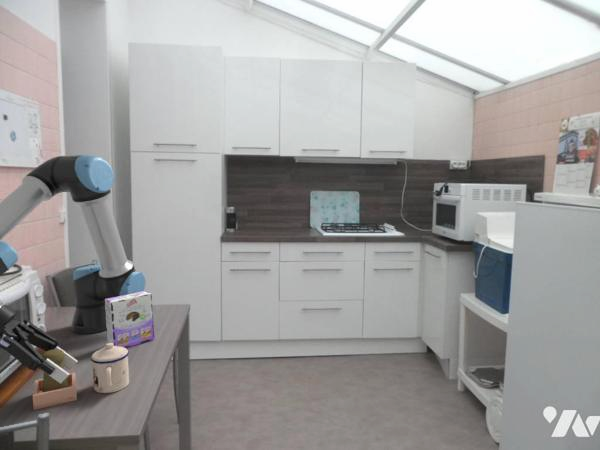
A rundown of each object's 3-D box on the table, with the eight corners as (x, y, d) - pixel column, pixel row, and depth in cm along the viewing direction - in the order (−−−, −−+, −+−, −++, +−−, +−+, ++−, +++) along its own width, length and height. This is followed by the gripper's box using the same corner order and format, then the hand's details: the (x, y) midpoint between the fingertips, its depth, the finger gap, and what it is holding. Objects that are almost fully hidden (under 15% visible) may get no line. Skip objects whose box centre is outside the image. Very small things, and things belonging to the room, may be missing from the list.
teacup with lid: (95, 380, 117) (92, 340, 116) (131, 375, 120) (128, 335, 119) (89, 402, 106) (86, 357, 104) (128, 396, 109) (126, 352, 107)
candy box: (147, 335, 150) (144, 290, 148) (154, 340, 146) (152, 293, 144) (107, 346, 141) (103, 298, 139) (113, 351, 136) (110, 301, 135)
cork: (56, 399, 105) (53, 357, 104) (36, 397, 106) (32, 355, 105) (74, 388, 111) (71, 347, 110) (54, 385, 112) (51, 345, 111)
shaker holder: (36, 393, 111) (35, 380, 110) (76, 384, 115) (75, 372, 115) (33, 409, 103) (32, 396, 102) (76, 400, 107) (75, 386, 106)
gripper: (-2, 314, 113) (70, 366, 118) (-43, 342, 93) (45, 403, 99) (19, 293, 113) (89, 345, 119) (-18, 317, 94) (69, 378, 100)
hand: (69, 371), depth 109 cm, fingers open, 7 cm apart
